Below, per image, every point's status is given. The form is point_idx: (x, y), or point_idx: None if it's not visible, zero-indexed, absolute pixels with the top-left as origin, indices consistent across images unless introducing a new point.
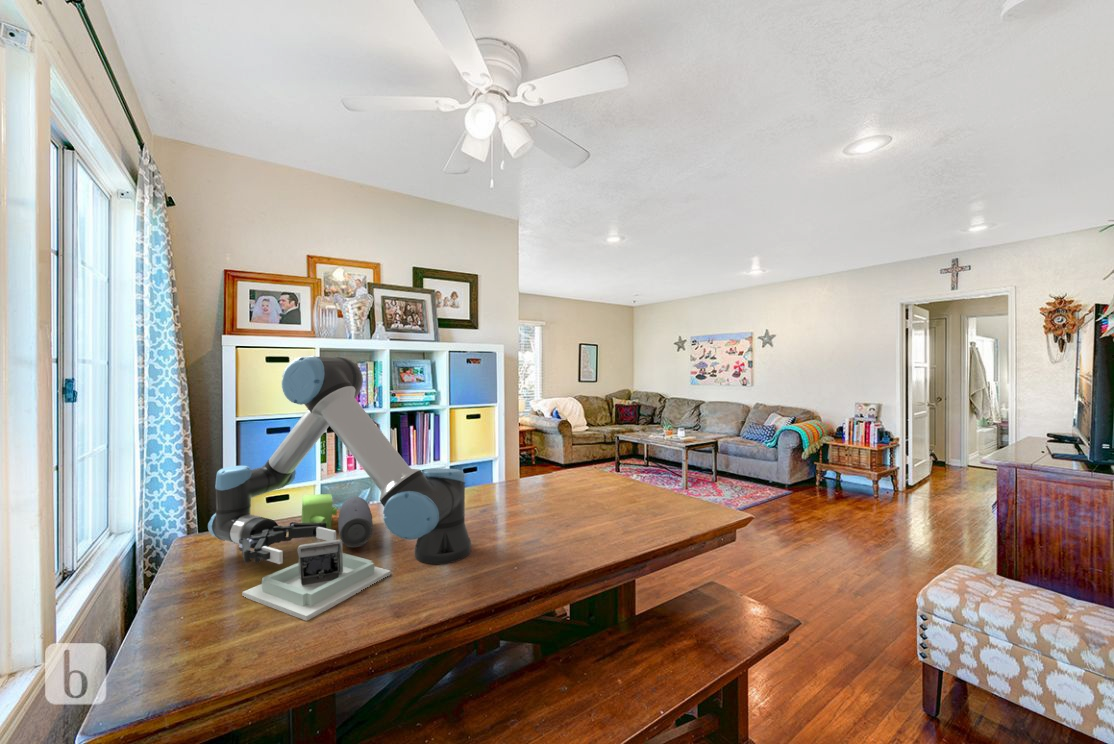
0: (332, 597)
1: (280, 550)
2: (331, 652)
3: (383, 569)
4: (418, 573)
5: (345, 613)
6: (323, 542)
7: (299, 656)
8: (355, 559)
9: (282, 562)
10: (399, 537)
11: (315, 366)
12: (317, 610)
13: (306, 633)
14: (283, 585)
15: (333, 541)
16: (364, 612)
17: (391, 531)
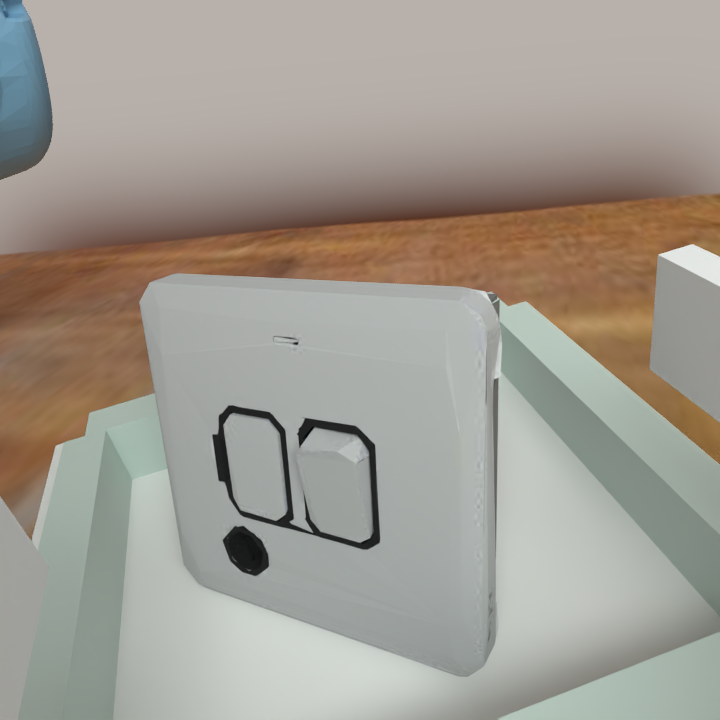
0: None
1: (686, 267)
2: (492, 216)
3: (54, 476)
4: (11, 415)
5: None
6: (269, 284)
7: (569, 222)
8: (87, 515)
9: (652, 363)
10: (46, 151)
11: None
12: None
13: (538, 275)
14: (629, 414)
15: (205, 275)
16: None
17: (51, 112)
